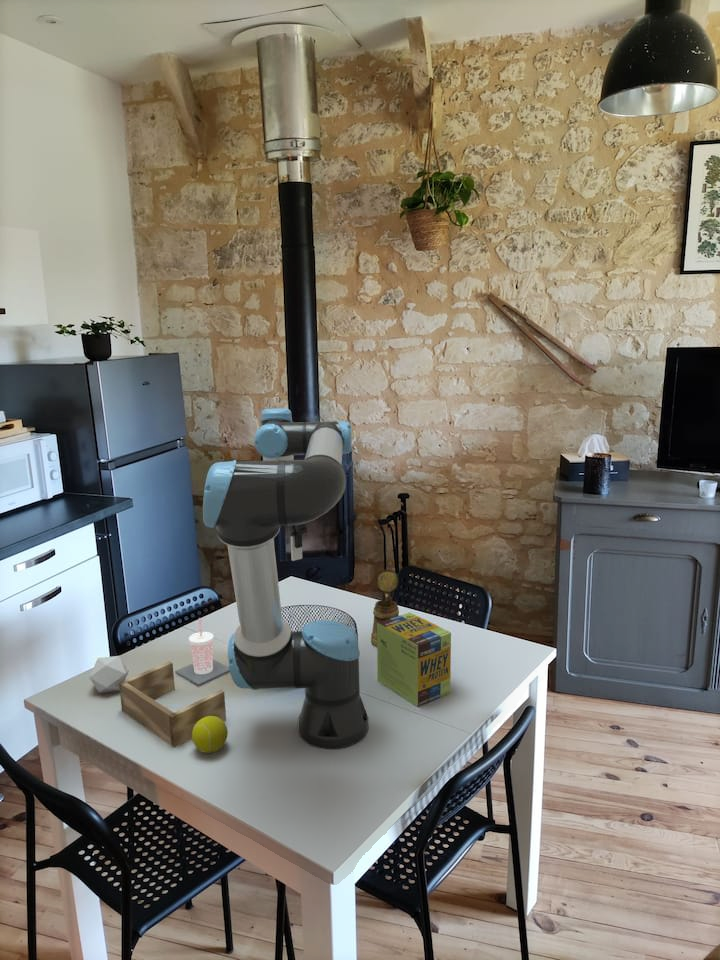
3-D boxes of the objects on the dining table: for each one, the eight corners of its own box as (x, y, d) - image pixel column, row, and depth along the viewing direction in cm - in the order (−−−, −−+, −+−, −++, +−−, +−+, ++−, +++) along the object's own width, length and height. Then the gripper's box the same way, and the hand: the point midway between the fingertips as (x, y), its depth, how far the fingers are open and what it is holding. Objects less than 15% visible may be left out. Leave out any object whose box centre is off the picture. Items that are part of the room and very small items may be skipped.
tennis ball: (211, 735, 148) (208, 706, 146) (235, 746, 144) (233, 715, 143) (186, 752, 142) (183, 722, 141) (210, 763, 139) (208, 732, 137)
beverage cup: (188, 675, 172) (183, 623, 169) (195, 663, 178) (191, 613, 175) (212, 675, 172) (208, 623, 169) (218, 664, 178) (215, 613, 174)
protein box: (418, 708, 157) (418, 645, 154) (376, 680, 169) (375, 621, 166) (451, 693, 163) (452, 632, 160) (409, 667, 175) (409, 610, 172)
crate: (172, 687, 168) (169, 661, 166) (226, 720, 153) (224, 691, 152) (121, 710, 158) (118, 682, 157) (174, 747, 144) (171, 717, 142)
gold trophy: (405, 628, 198) (405, 568, 194) (402, 649, 185) (401, 586, 181) (374, 626, 199) (373, 567, 195) (368, 648, 186) (367, 585, 182)
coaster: (231, 670, 175) (231, 668, 175) (198, 686, 168) (198, 684, 168) (208, 658, 182) (208, 656, 182) (175, 673, 175) (175, 671, 174)
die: (112, 703, 162) (133, 665, 164) (78, 687, 162) (100, 649, 164) (118, 698, 170) (138, 661, 172) (86, 682, 170) (106, 646, 172)
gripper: (319, 476, 164) (322, 561, 169) (266, 462, 184) (270, 538, 188) (293, 481, 160) (296, 568, 165) (241, 466, 179) (245, 544, 184)
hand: (282, 552), depth 176 cm, fingers open, 13 cm apart
